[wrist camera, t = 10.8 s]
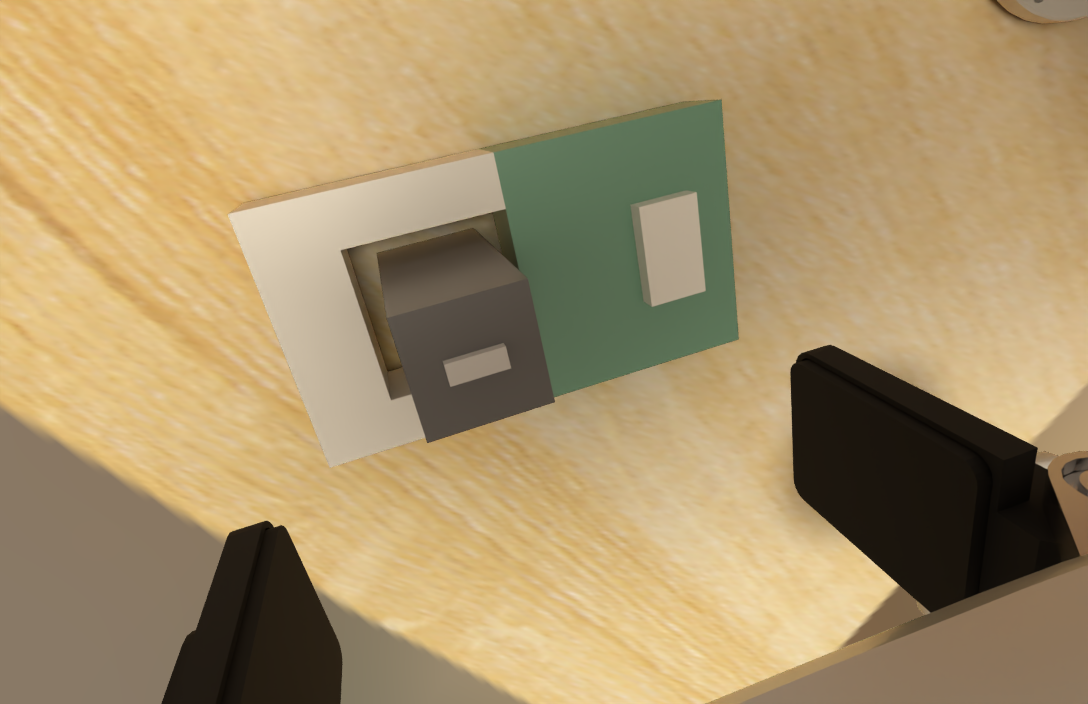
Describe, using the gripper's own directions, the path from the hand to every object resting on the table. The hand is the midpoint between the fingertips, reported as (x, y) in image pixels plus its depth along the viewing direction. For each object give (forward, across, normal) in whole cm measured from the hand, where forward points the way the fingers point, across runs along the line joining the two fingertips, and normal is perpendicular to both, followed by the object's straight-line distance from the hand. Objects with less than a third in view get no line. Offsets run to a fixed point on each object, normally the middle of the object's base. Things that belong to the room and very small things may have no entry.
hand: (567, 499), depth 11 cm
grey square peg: (+16, +1, 0) cm, 16 cm away
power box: (+16, -2, 0) cm, 17 cm away
